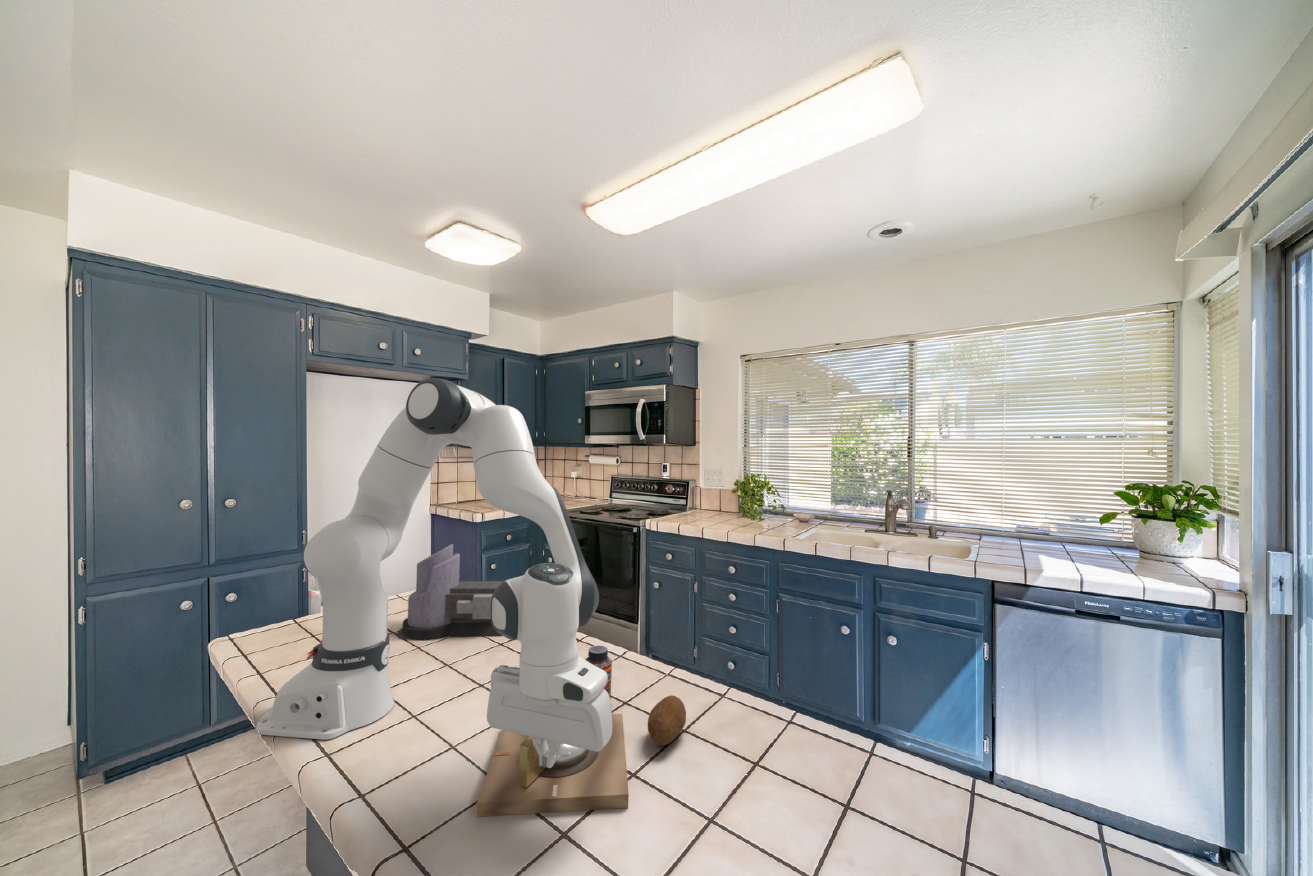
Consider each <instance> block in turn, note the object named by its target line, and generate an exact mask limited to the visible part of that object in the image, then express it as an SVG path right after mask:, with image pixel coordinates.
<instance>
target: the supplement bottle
mask: <svg viewBox="0 0 1313 876" xmlns="http://www.w3.org/2000/svg"><path fill="white" fill-rule="evenodd" d="M608 651H609V650H608V647H607V646H605V645H593V646H591V647H589V649H588V652H587V653H588V654H587V655H588V657H586V658H585V659H584V660H586V661H588V662H589V663H591V664H593V665H595V666H596V667H598V668H600V669H602V670H604V671H605V672H606V673H607V675H608V681H607V684H606V685H605V687H604V689H605V690H606V691H607V693H608V694H609V697H610V701H611V700H612V699H611V697H612V671H613V670H612V669H613V668H612V667H613V666H612V665H613V663H612V659H611V658H610V657H609V656H608V654H609V652H608Z"/></svg>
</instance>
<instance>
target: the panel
mask: <svg viewBox="0 0 1313 876" xmlns="http://www.w3.org/2000/svg"><path fill="white" fill-rule="evenodd" d="M623 718H624V716H623V713H612V736H611V738H610V740H609V741H608V743H607V744H606V745H605V747H604V748H603V749H602V750H600V751H599V752H596V751H592V750H589V753H588V754H587V756H586V757H585V758H584V759H583V760H581V761H580V762H578V763H576V764H574V765H571V766H568V767H564V768H547V767H546V768H545V769H544V770H543V771H542V772H541V773H540V774H539V775H538V776H537V777H536V778H535V779H534V780H533V781H532V782H531V783H530V784H529V785H528V786H527V787H524V786H521V785H519V761H520V744H521V743H523V742H524V741H525V740H526V739H527V738H528V737H530V736H526V735H522V734H517V733H513V732H509V731H504V730H501V731H500V735H499V737H498V741H497V744H496V746H495V750H494V751H493V755H492V758H491V761H490V764H489V767H488V769H487V773H486V775H485V778H484V781H483V784H482V787H481V790H480V791H479V795H478V798H477V801H476V811H475V812H476V813H475V814H476V815H475V817H476V818H477V817H478V818H479V817H495V816H496V817H497V816H510V815H511V816H513V815H527V814H542V813H543V814H544V813H545V814H546V813H547V814H548V813H563V812H579V811H595V810H613V809H615V810H616V809H627V808H629V795H630V794H629V784H628V783H629V781H628V772H627V771H628V770H627V759H626V758H627V757H626V745H625V743H626V742H625V731H624V719H623Z"/></svg>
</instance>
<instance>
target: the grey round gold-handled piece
mask: <svg viewBox="0 0 1313 876" xmlns="http://www.w3.org/2000/svg"><path fill="white" fill-rule="evenodd" d="M546 742H547V745H548V740H546ZM548 747H549V746H548ZM549 749H551V747H549ZM588 753H589V750H587V749H583V748H579V747H574V746H570V745H566V744H560V746H559V748H558V749H557V751H556V758H555V763H554V765H553V766H552V767H551V768H564V767H568V766H571V765H574V764H576V763H578V762H580V761H581V760H583V759H584V758H585V757H586V756H587V754H588ZM545 768H546V767H543V766H539V755H538V753H537V751H536V749H535V746H534V744H533V737H531V736H530V737H528V738H527V739H526V740H525V741H524V742H523V743H521V744H520V761H519V785H521V786H524V787H527V786H528V785H529V784H530V783H531V782H532V781H533V780H534V779H535V778H536V777H537V776H538V775H539V774H540V773H541V772H542V771H543V770H544V769H545Z"/></svg>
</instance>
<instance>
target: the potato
mask: <svg viewBox="0 0 1313 876" xmlns="http://www.w3.org/2000/svg"><path fill="white" fill-rule="evenodd" d="M686 723H687V711H686V707H685V704H684V702H683V701H682V700H681V698H680V697H678V696H676V695H668V696H666V697H663V698H662V699H661V700H660V701H658V702H657V703H656V704H655V705H654V707H653V708H652V709H651V711H650V712H649V716H648V718H647V731H648V734H649V736H650V738H651V739H652V741H653V742H654V743H655V744H656V745H658V746H665V745H666V746H667V745H669V744H671V742H673V741H674V740H675V739H676V738H677V737H678V736H679V735H680V733H681V732H682V730H683V729H684V728H685V725H686Z"/></svg>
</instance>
